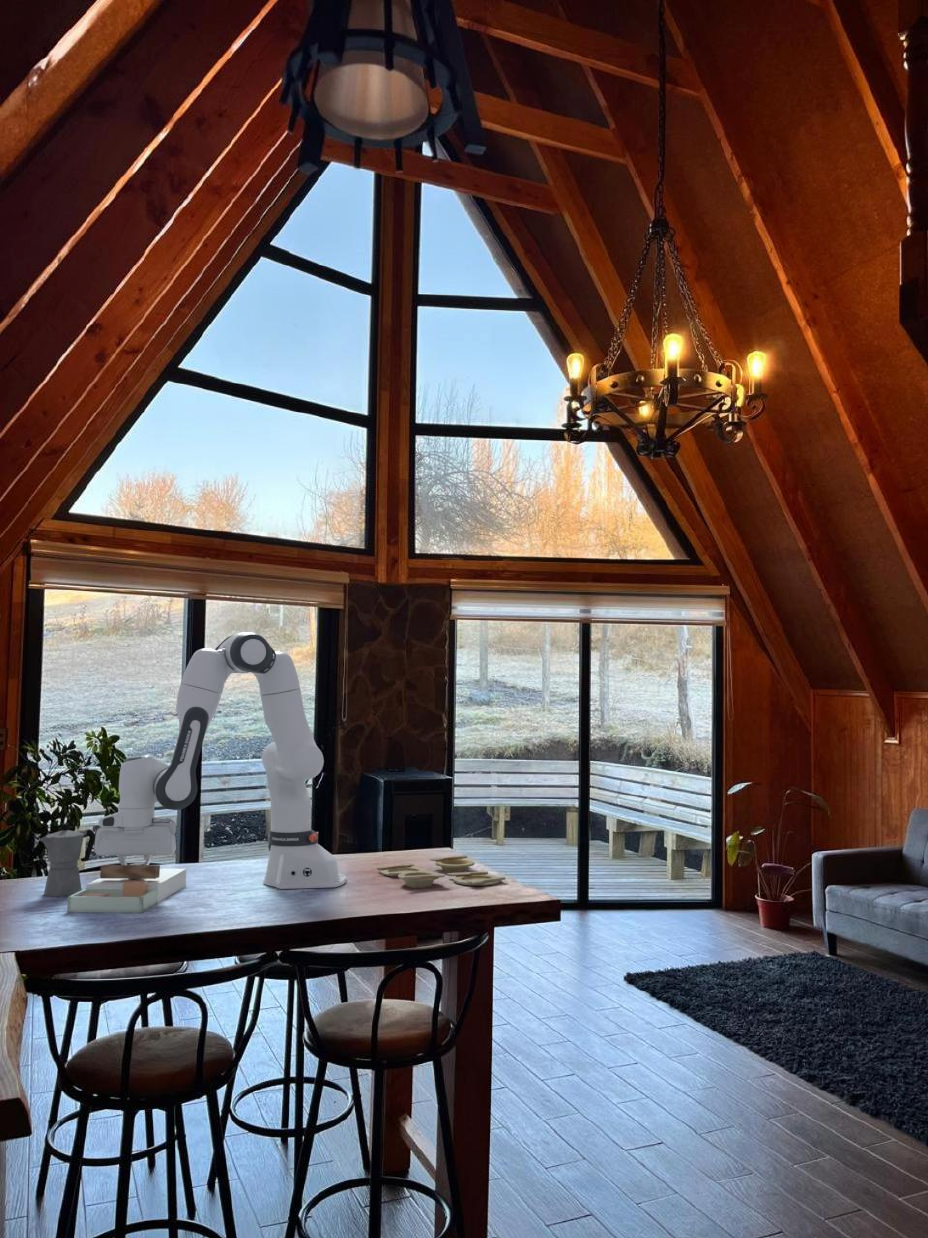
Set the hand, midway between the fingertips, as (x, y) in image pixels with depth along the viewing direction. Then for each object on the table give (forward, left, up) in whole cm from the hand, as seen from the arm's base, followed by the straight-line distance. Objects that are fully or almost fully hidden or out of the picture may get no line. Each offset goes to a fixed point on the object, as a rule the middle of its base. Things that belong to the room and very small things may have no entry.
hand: (134, 873), depth 238 cm
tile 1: (-4, +8, -3) cm, 9 cm away
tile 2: (+5, +13, -3) cm, 14 cm away
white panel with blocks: (0, -3, -6) cm, 7 cm away
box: (0, +12, -6) cm, 14 cm away
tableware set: (-76, -28, -7) cm, 82 cm away
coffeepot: (+19, -4, -6) cm, 21 cm away
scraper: (0, -1, -1) cm, 1 cm away
